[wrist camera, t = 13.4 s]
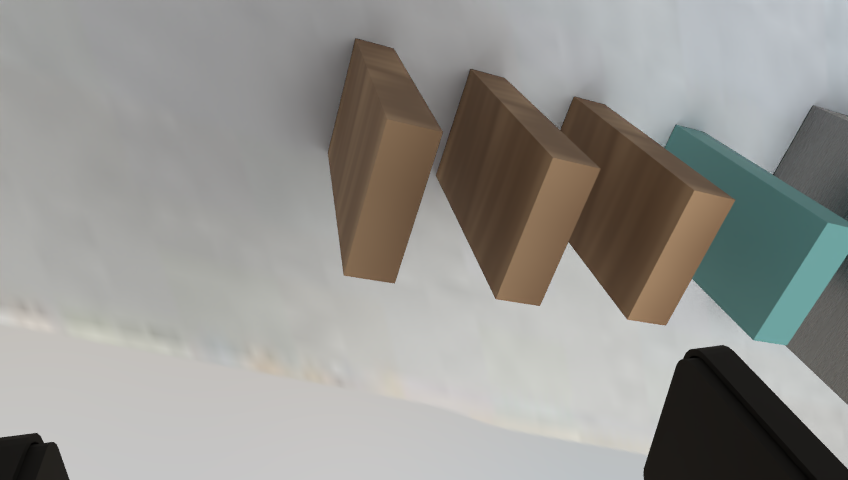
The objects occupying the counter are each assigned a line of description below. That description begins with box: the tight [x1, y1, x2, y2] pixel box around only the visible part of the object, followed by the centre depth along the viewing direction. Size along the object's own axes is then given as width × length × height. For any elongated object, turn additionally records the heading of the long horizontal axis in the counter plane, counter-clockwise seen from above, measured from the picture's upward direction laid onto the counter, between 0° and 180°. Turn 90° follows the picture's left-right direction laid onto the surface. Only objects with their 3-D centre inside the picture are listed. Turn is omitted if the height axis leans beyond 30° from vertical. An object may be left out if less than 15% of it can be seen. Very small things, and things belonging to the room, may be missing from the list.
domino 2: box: [436, 69, 600, 306], centre depth 24 cm, size 2×5×10 cm, turn 163°
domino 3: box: [560, 97, 735, 325], centre depth 26 cm, size 2×5×10 cm, turn 163°
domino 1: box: [328, 38, 443, 283], centre depth 23 cm, size 2×5×10 cm, turn 163°
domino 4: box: [665, 125, 848, 345], centre depth 27 cm, size 2×5×10 cm, turn 164°
